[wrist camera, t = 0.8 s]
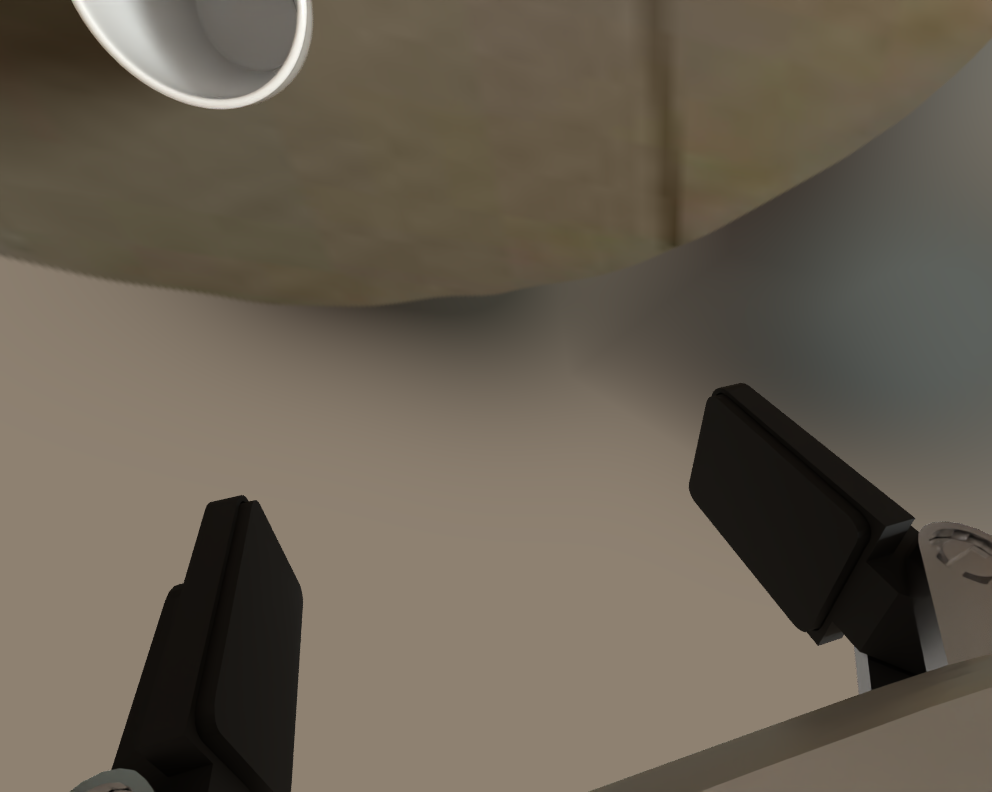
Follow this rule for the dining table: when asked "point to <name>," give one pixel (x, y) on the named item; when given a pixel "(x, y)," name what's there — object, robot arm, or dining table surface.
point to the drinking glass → (205, 45)
